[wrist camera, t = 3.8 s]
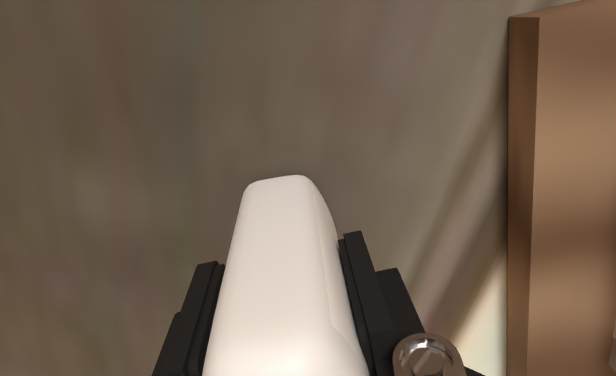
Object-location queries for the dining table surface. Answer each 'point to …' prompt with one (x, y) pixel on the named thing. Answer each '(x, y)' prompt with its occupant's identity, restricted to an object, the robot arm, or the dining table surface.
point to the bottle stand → (562, 191)
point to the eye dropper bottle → (284, 290)
